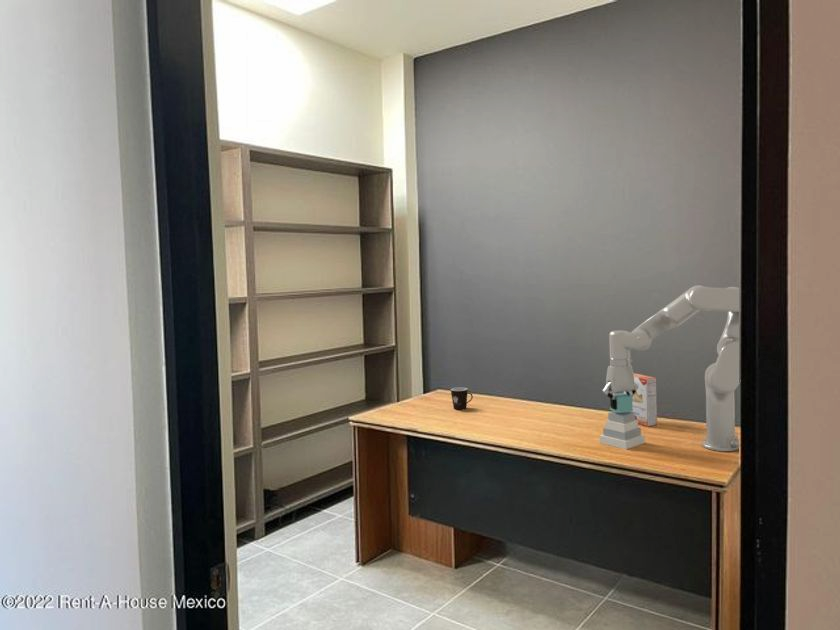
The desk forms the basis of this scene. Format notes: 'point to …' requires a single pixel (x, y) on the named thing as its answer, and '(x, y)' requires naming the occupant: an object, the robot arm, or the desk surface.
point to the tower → (622, 431)
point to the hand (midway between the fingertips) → (621, 407)
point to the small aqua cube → (623, 403)
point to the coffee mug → (460, 398)
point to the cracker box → (645, 400)
